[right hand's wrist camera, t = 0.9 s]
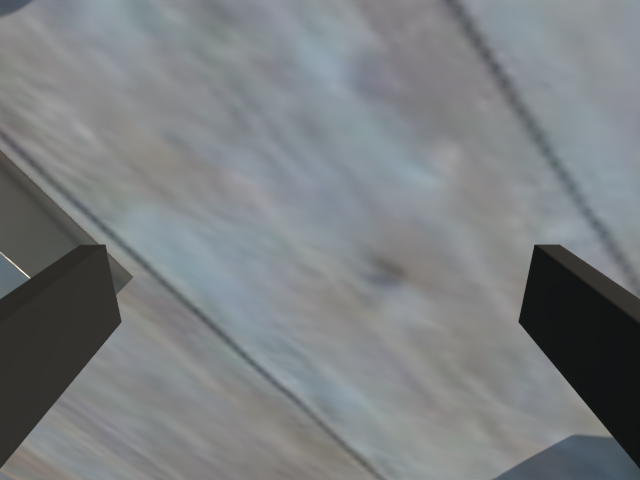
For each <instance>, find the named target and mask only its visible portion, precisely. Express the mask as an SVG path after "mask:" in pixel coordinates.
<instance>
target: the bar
mask: <svg viewBox="0 0 640 480" xmlns="http://www.w3.org/2000/svg"><path fill="white" fill-rule="evenodd" d="M79 245H99V244H98V243H97V242H96V241H95V240H94V239H93V238H92V237H91V236H89V235H88V234H87V233H86V232H85V231H84V230H83V229H82V228H81V227H80V226H79V225H78V224H77V223H76V222H75V221H74V220H73V219H72V218H71V217H70V216H68V215H67V214H66V213H65V212H64V211H63V210H62V209H61V208H60V207H59V206H58V205H57V204H56V203H55V202H54V201H53V200H52V199H51V198H50V197H49V196H48V195H46V194H45V193H44V192H43V191H42V190H41V189H40V188H39V187H38V186H37V185H36V184H35V183H34V182H33V181H32V180H31V179H30V178H29V177H28V176H27V175H25V174H24V173H23V172H22V171H21V170H20V169H19V168H18V167H17V166H16V165H15V164H14V163H13V162H12V161H11V160H10V159H9V158H8V157H7V156H6V155H4V154H3V153H2V152H1V151H0V299H1V298H3V297H4V296H5V295H7V294H8V293H10V292H11V291H13V290H14V289H16V288H17V287H19V286H20V285H22V284H23V283H25V282H26V281H28V280H29V279H31V278H32V277H33V276H35V275H36V274H38V273H39V272H41V271H42V270H44V269H45V268H47V267H48V266H50V265H51V264H53V263H54V262H56V261H57V260H59V259H60V258H61V257H63V256H64V255H66V254H67V253H69V252H70V251H72V250H73V249H75V248H76V247H78V246H79ZM107 255H108V260H109V264H110V269H111V274H112V279H113V284H114V289H115V293H116V294H117V293H118V292H119V291H120V290H121V289H122V288H123V287H124V286H125V285H126V284H127V283H128V282H129V281H130V280H131V279H132V278H133V276H131V275H130V274H129V273H128V272H127V271H126V270H125V269H124V268H123V267H122V266H121V265H120V264H119V263H118V262H117V261H116V260H115V259H114V258H113V257H112V256H110V255H109V254H108V253H107Z"/></svg>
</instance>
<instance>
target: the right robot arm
mask: <svg viewBox="0 0 640 480" xmlns="http://www.w3.org/2000/svg"><path fill="white" fill-rule="evenodd" d="M120 323H121V317H120V313H119V308H118V303H117V298H116V293H115V289H114V284H113V279H112V274H111V269H110V264H109V260H108V255H107V250H106V245H79V246H78V247H76V248H75V249H73V250H72V251H70V252H69V253H67V254H66V255H64V256H63V257H61V258H60V259H59V260H57V261H56V262H54V263H53V264H51V265H50V266H48V267H47V268H45V269H44V270H42V271H41V272H39V273H38V274H36V275H35V276H33V277H32V278H31V279H29V280H28V281H26V282H25V283H23V284H22V285H20V286H19V287H17V288H16V289H14V290H13V291H11V292H10V293H8V294H7V295H5V296H4V297H3V298H1V299H0V468H1V467H2V466H3V465H4V463H5V462H6V461H7V460H8V459H9V457H10V456H11V455H12V454H13V453H14V451H15V450H16V449H17V448H18V447H19V445H20V444H21V443H22V442H23V440H24V439H25V438H26V437H27V436H28V434H29V433H30V432H31V431H32V430H33V428H34V427H35V426H36V425H37V424H38V422H39V421H40V420H41V419H42V418H43V416H44V415H45V414H46V413H47V411H48V410H49V409H50V408H51V407H52V405H53V404H54V403H55V402H56V401H57V399H58V398H59V397H60V396H61V395H62V393H63V392H64V391H65V390H66V388H67V387H68V386H69V385H70V384H71V382H72V381H73V380H74V379H75V378H76V376H77V375H78V374H79V373H80V372H81V370H82V369H83V368H84V367H85V366H86V364H87V363H88V362H89V361H90V359H91V358H92V357H93V356H94V355H95V353H96V352H97V351H98V350H99V349H100V347H101V346H102V345H103V344H104V343H105V341H106V340H107V339H108V338H109V336H110V335H111V334H112V333H113V332H114V330H115V329H116V328H117V327H118V326H119V324H120ZM519 323H520V324H521V326H522V327H523V328H524V329H525V330H526V332H527V333H528V334H529V335H530V336H531V338H532V339H533V340H534V341H535V343H536V344H537V345H538V346H539V347H540V349H541V350H542V351H543V352H544V353H545V355H546V356H547V357H548V358H549V359H550V361H551V362H552V363H553V364H554V366H555V367H556V368H557V369H558V370H559V372H560V373H561V374H562V375H563V376H564V378H565V379H566V380H567V381H568V382H569V384H570V385H571V386H572V387H573V388H574V390H575V391H576V392H577V393H578V395H579V396H580V397H581V398H582V399H583V401H584V402H585V403H586V404H587V405H588V407H589V408H590V409H591V410H592V411H593V413H594V414H595V415H596V416H597V418H598V419H599V420H600V421H601V422H602V424H603V425H604V426H605V427H606V428H607V430H608V431H609V432H610V433H611V434H612V436H613V437H614V438H615V439H616V440H617V442H618V443H619V444H620V445H621V447H622V448H623V449H624V450H625V451H626V453H627V454H628V455H629V456H630V457H631V459H632V460H633V461H634V462H635V463H636V465H637V466H638V467H639V468H640V299H639V298H637V297H636V296H634V295H633V294H632V293H630V292H629V291H627V290H626V289H624V288H623V287H621V286H620V285H618V284H617V283H615V282H614V281H612V280H611V279H609V278H608V277H607V276H605V275H604V274H602V273H601V272H599V271H598V270H596V269H595V268H593V267H592V266H590V265H589V264H587V263H586V262H584V261H583V260H581V259H580V258H579V257H577V256H576V255H574V254H573V253H571V252H570V251H568V250H567V249H565V248H564V247H562V246H561V245H534V250H533V255H532V260H531V264H530V269H529V274H528V279H527V284H526V289H525V293H524V298H523V303H522V308H521V313H520V317H519Z"/></svg>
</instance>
